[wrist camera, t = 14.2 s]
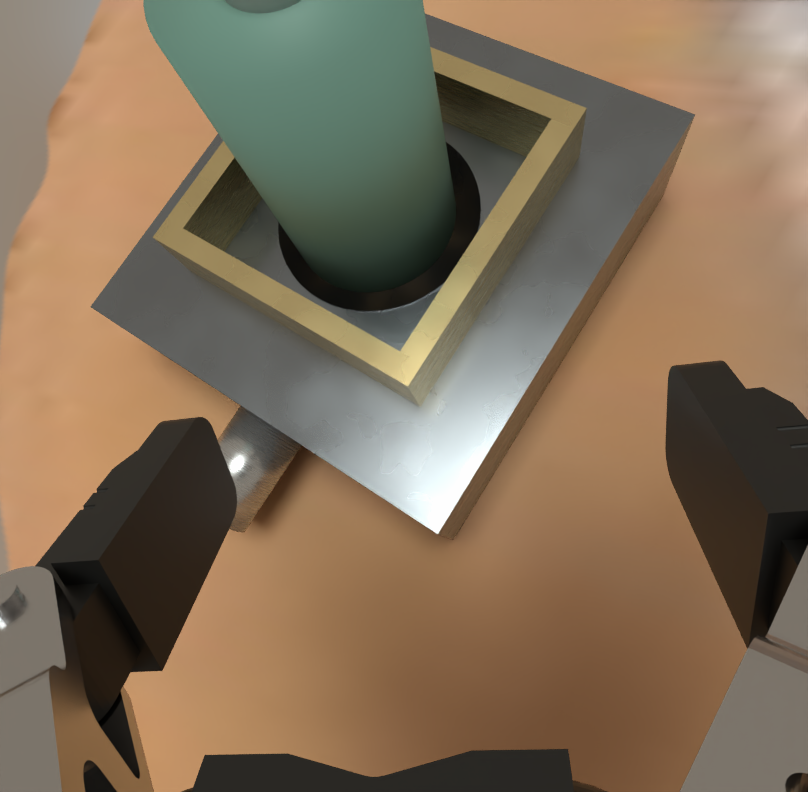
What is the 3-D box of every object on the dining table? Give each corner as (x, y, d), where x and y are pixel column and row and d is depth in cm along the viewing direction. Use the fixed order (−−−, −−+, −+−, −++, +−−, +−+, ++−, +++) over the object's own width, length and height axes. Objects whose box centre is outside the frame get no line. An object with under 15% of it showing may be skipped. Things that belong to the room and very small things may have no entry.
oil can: (462, 280, 21) (405, -36, 10) (296, 302, 22) (75, 32, 11) (443, 73, 24) (380, -366, 13) (294, 100, 25) (112, -289, 14)
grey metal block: (360, 68, 31) (313, -80, 24) (663, 195, 26) (717, 59, 19) (109, 421, 28) (-28, 373, 21) (398, 630, 24) (347, 658, 17)
